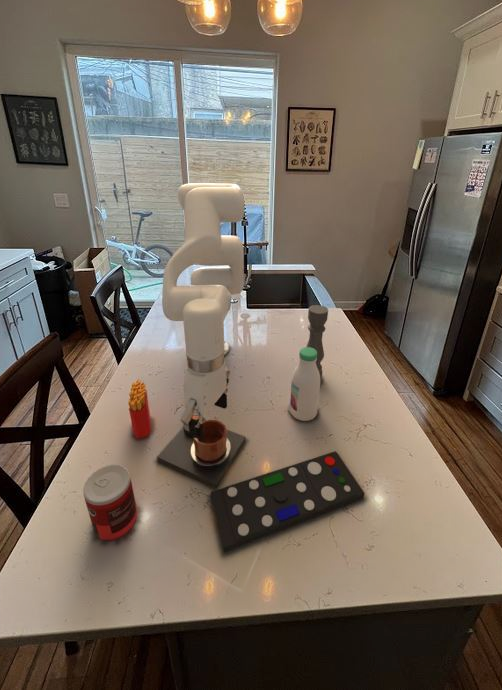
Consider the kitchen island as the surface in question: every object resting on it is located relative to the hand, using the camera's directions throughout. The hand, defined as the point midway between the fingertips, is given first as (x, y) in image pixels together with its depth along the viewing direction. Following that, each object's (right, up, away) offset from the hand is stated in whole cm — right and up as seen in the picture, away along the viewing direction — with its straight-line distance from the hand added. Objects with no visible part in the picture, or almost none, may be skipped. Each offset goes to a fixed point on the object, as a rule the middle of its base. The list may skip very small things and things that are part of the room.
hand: (209, 420), depth 74 cm
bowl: (0, -7, +3) cm, 8 cm away
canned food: (-17, -16, -10) cm, 25 cm away
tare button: (-5, -5, +10) cm, 12 cm away
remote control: (+17, -15, -4) cm, 23 cm away
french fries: (-19, -7, +12) cm, 24 cm away
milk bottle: (+23, -5, +19) cm, 30 cm away
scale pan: (0, -8, +3) cm, 8 cm away
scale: (-2, -10, +6) cm, 12 cm away
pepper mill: (+28, 0, +32) cm, 42 cm away
